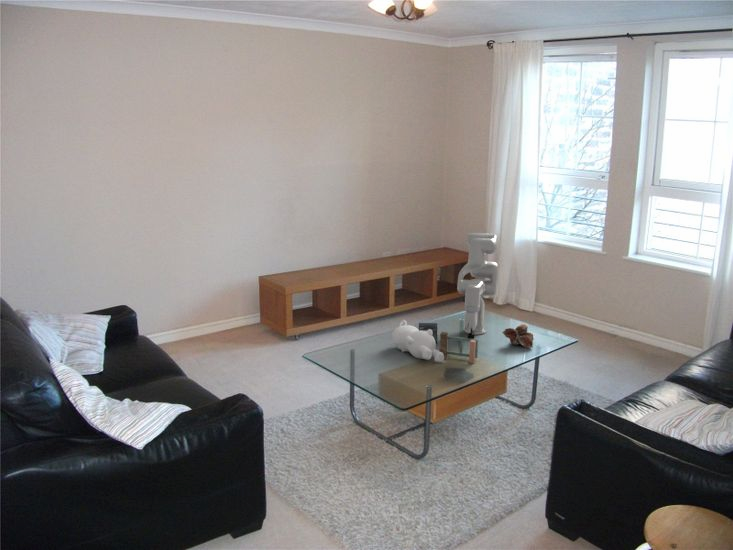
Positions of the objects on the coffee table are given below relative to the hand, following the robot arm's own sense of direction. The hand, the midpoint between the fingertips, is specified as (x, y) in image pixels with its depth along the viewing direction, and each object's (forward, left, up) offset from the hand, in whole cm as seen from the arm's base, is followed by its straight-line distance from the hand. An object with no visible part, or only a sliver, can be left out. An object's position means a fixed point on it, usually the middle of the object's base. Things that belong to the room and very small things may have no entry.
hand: (470, 340), depth 349 cm
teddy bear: (+9, -28, -10) cm, 31 cm away
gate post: (+7, -13, -10) cm, 17 cm away
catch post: (+6, +3, -10) cm, 12 cm away
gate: (+3, -5, -9) cm, 10 cm away
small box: (-12, -29, -10) cm, 33 cm away
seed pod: (-30, +20, -10) cm, 37 cm away
